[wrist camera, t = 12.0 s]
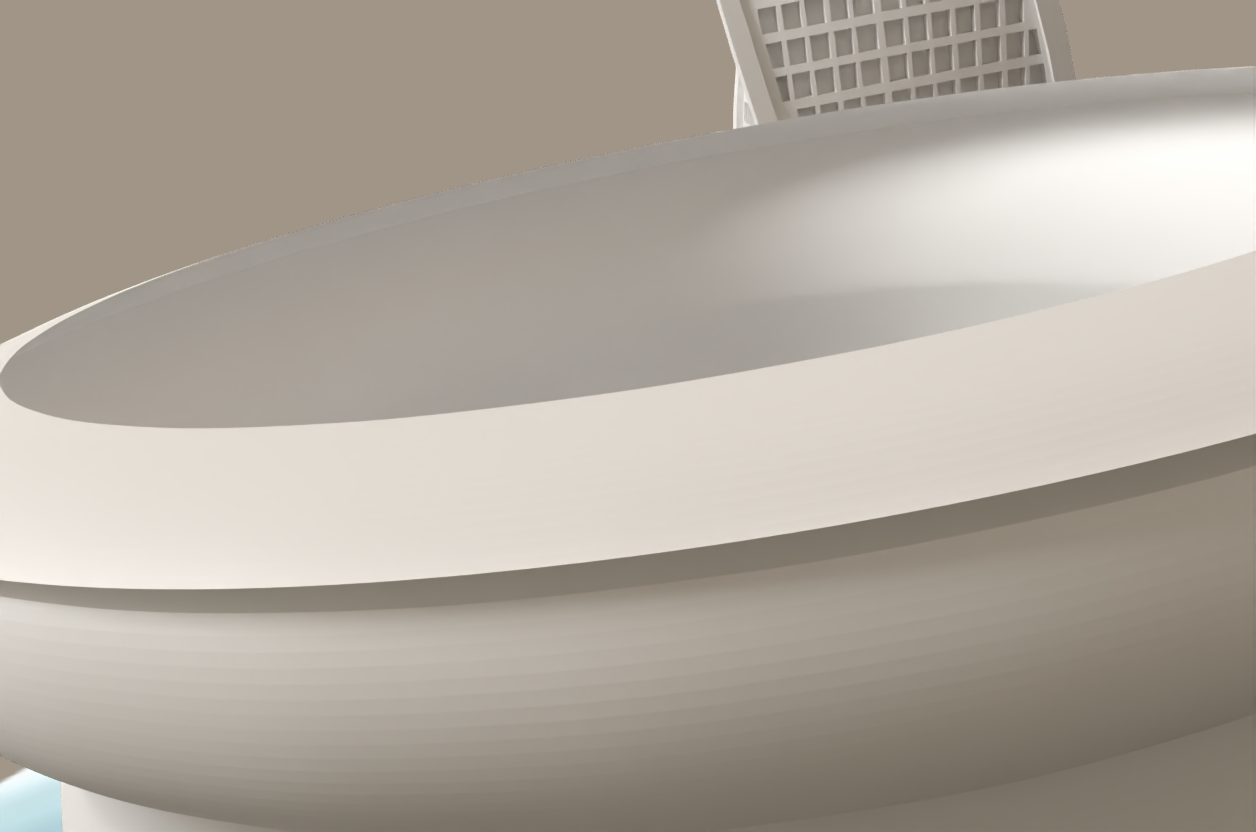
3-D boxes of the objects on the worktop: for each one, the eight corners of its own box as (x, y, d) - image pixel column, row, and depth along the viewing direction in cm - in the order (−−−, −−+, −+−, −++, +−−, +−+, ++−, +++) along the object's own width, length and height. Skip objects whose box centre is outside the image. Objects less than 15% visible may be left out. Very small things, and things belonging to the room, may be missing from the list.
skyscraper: (1062, 680, 30) (989, -524, 21) (1202, 896, 23) (1179, -838, 14) (764, 723, 31) (573, -428, 22) (802, 947, 23) (532, -679, 14)
